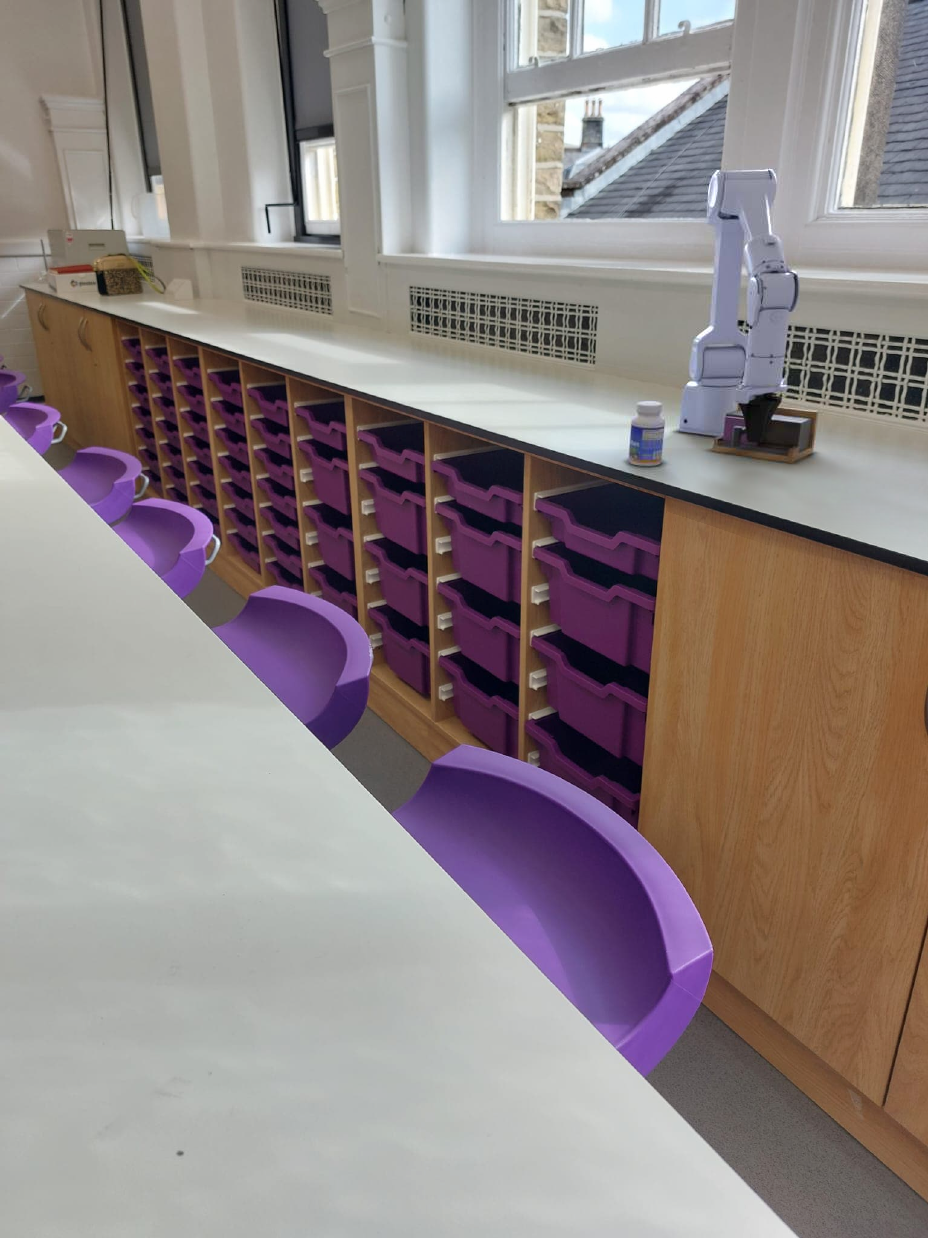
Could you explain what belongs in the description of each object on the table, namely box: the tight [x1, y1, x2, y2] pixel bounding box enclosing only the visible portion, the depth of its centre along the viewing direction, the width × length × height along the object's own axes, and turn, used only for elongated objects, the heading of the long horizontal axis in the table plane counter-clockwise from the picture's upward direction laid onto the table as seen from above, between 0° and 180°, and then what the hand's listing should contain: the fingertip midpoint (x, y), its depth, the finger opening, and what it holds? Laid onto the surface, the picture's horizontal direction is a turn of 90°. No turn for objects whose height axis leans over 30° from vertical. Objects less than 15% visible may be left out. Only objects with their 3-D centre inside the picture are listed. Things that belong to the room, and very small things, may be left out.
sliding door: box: [723, 416, 758, 447], centre depth 146 cm, size 6×6×5 cm
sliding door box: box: [712, 403, 820, 464], centre depth 149 cm, size 14×9×7 cm, turn 49°
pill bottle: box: [628, 400, 666, 467], centre depth 143 cm, size 5×5×10 cm
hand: (754, 441), depth 142 cm, fingers closed
